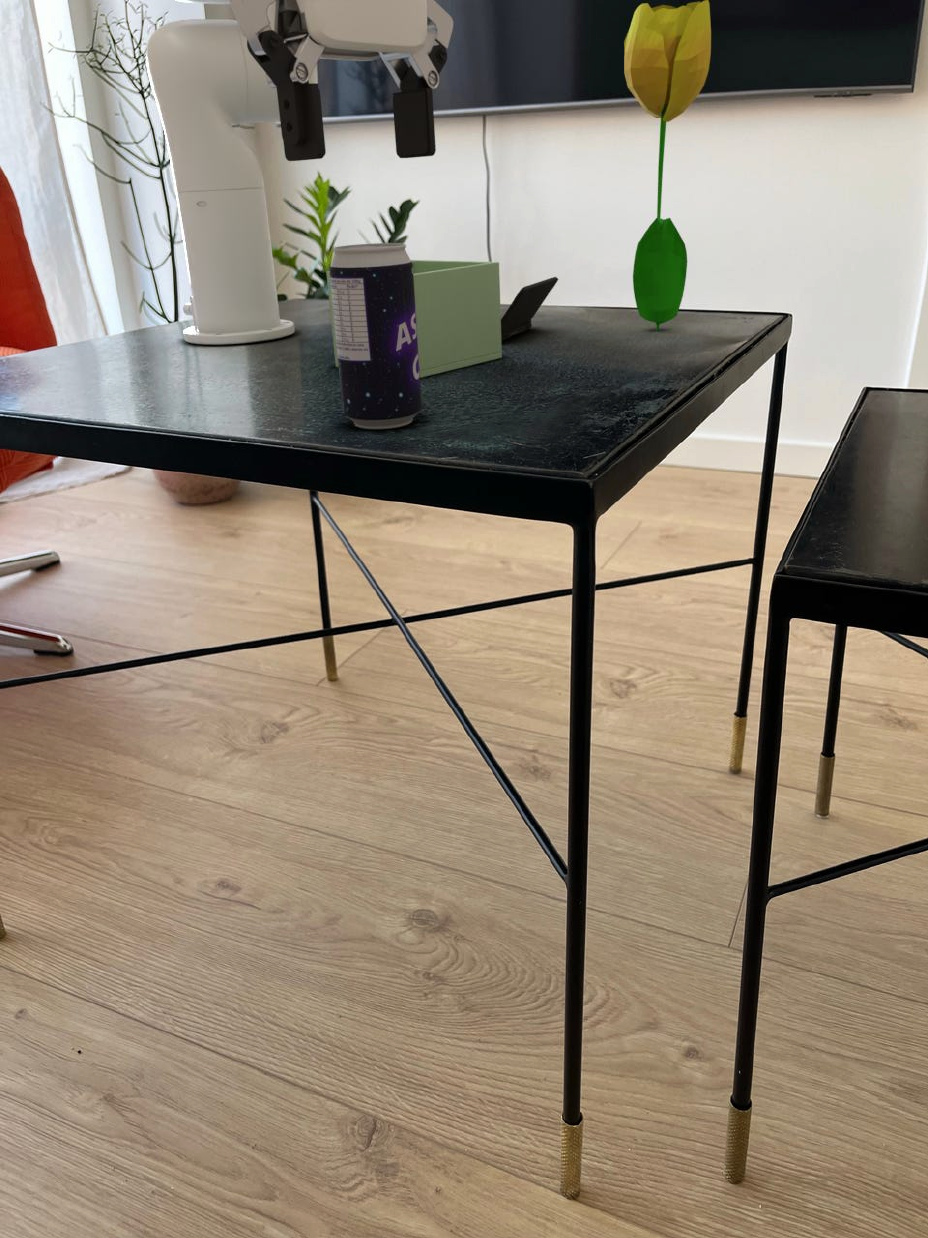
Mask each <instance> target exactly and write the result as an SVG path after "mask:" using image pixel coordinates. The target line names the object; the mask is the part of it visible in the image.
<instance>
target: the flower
mask: <svg viewBox="0 0 928 1238" xmlns="http://www.w3.org/2000/svg"><path fill="white" fill-rule="evenodd" d="M710 7H711V6H710V2H709V0H703V1H700V0H699V1H694V2H689V3H687V4H686V5H680V6H679V7H675V6H672V5H665V4H661V5H658V6H655V7H651V5H650V4H649V3H648V2H647V3H640V5H638V7H637V8H636V9H635V11H634V13H633V17H632V20H631V23H630V27H629V29H628V31H627V33H626V36H625V38H624V41H623V44H624V45H623V47H624V57H623V59H624V61H623V62H624V65H623V66H624V67H623V68H624V71H623V73H624V77H625V81H626V86H627V88H628V90H629V91H630V93H632V95H633V96H634V98H635V99H636V100H637V102H638V103H639V105H640V106H641V108H642V109H643V110H644V112H645V113H647V114H648V115H650V116H652V117H653V118H655V119H660V127H659V146H658V147H659V149H658V167H657V168H658V170H657V203H656V205H657V207H656V208H657V209H656V210H657V211H656V218H655V219H654V220H653V221H652V223H651V224H650V225H649V227H648V228H647V229H646V231H645V232H644V233H643V235H642V236H641V238H640V240H639V241H638V242H637V246H636V249H635V255H634V262H633V270H632V284H633V285H632V287H633V296H634V300H635V304H636V308H637V311H638V314H639V316H640V317H641V318H642V319H644V320H645V321H647V322H651V323H654V324H655V331H660V325H662V324H665V323H667V322H669V321H671V320H673V319H675V318H676V317H677V316H678V313H679V310H680V307H681V304H682V302H683V301H682V300H683V297H684V292H685V286H686V280H687V271H688V253H687V246H686V243H685V242H684V240H683V238H682V236H681V233H680V232H679V231H678V229H677V227H676V226H675V224H674V222H673V221H672V219H671V217H668V218H665V219H664V218H661V217H662V216H661V214H662V195H663V177H664V176H663V174H664V162H665V161H664V158H665V146H666V145H665V144H666V132H667V123H669V122H671V121H673V120H675V119H676V118H678V117H680V116H681V115H682V114H683V113H684V112H685V111H687V109H689V106H690V105H692V103H693V102H695V100H696V98H697V97H698V96H699V94H700V92H701V90H703V87H704V86H705V83H706V81H707V77H708V73H709V70H710V63H711V55H712V54H711V53H712V51H711V50H712V27H711V9H710Z"/></svg>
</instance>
